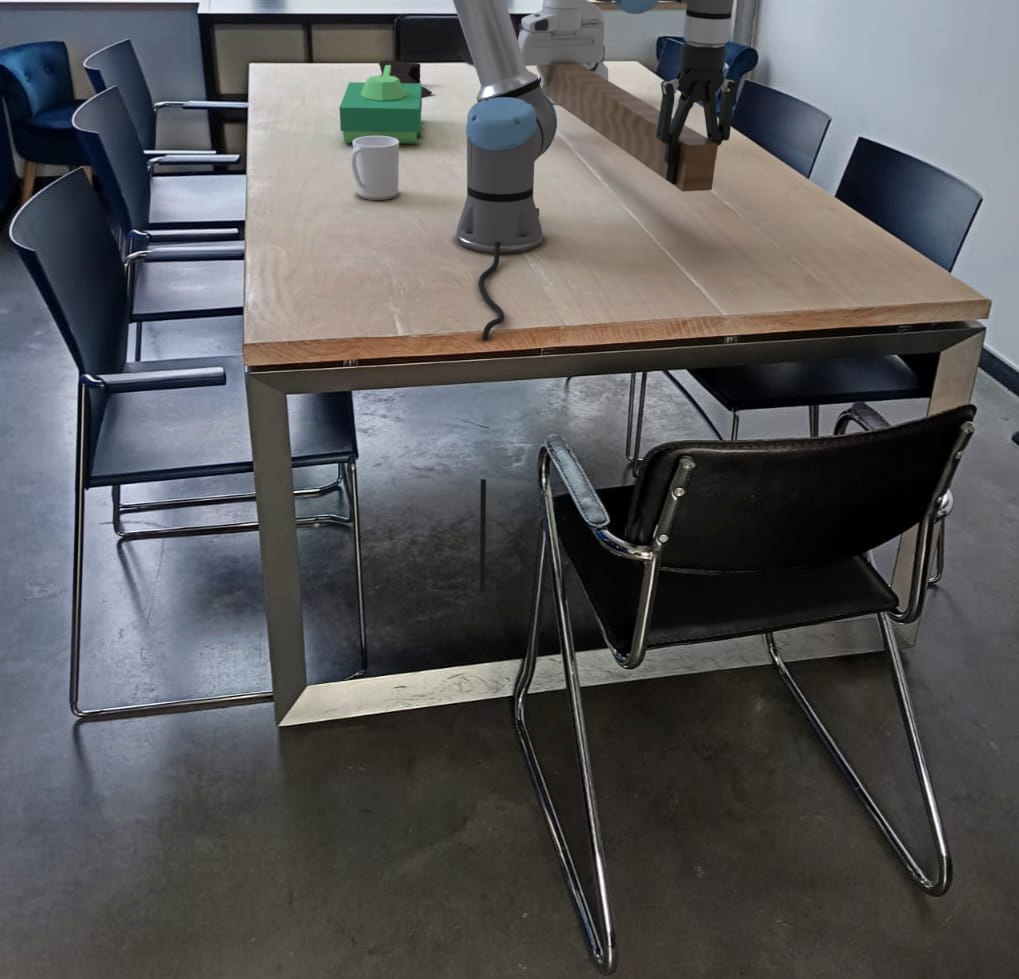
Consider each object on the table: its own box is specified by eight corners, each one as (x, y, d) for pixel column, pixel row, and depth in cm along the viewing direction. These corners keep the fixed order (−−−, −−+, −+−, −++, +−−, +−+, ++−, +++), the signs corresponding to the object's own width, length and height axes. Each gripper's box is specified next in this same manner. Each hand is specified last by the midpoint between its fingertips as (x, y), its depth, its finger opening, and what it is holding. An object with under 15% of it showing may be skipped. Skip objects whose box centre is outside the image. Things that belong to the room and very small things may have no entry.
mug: (378, 184, 223) (375, 133, 218) (409, 193, 218) (408, 141, 213) (338, 196, 216) (335, 143, 210) (370, 205, 211) (367, 151, 206)
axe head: (443, 87, 294) (392, 77, 287) (436, 115, 299) (385, 106, 292) (421, 62, 307) (371, 52, 300) (414, 89, 311) (365, 80, 304)
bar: (711, 190, 193) (717, 144, 189) (682, 191, 191) (688, 145, 187) (564, 92, 258) (566, 56, 254) (541, 92, 257) (543, 56, 253)
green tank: (422, 61, 273) (418, 91, 243) (422, 112, 279) (419, 147, 249) (350, 60, 272) (338, 90, 242) (353, 111, 278) (341, 146, 248)
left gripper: (744, 38, 189) (724, 173, 201) (644, 39, 184) (630, 177, 196) (765, 46, 183) (743, 184, 195) (662, 48, 178) (647, 189, 190)
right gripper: (599, 16, 251) (596, 79, 258) (514, 19, 245) (513, 83, 253) (609, 20, 246) (605, 85, 253) (523, 24, 240) (521, 89, 248)
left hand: (687, 180), depth 195 cm, fingers closed on bar, 6 cm apart
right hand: (559, 84), depth 253 cm, fingers closed on bar, 5 cm apart
